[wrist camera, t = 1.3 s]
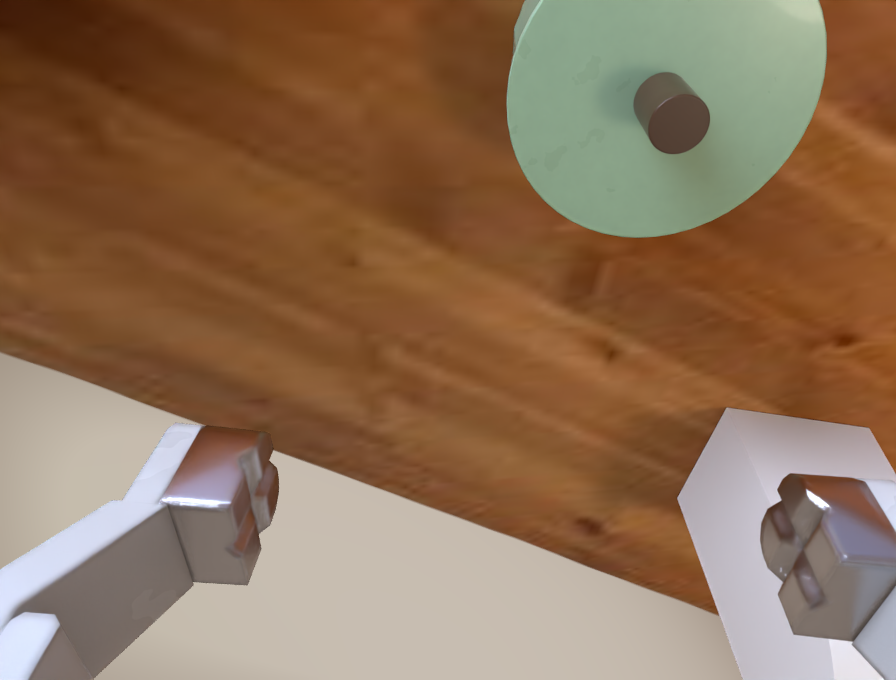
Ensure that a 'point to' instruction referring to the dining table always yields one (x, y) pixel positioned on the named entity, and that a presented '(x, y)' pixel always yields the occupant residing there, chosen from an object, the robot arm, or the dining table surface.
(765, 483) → the milk
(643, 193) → the tin lid
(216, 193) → the dining table surface
